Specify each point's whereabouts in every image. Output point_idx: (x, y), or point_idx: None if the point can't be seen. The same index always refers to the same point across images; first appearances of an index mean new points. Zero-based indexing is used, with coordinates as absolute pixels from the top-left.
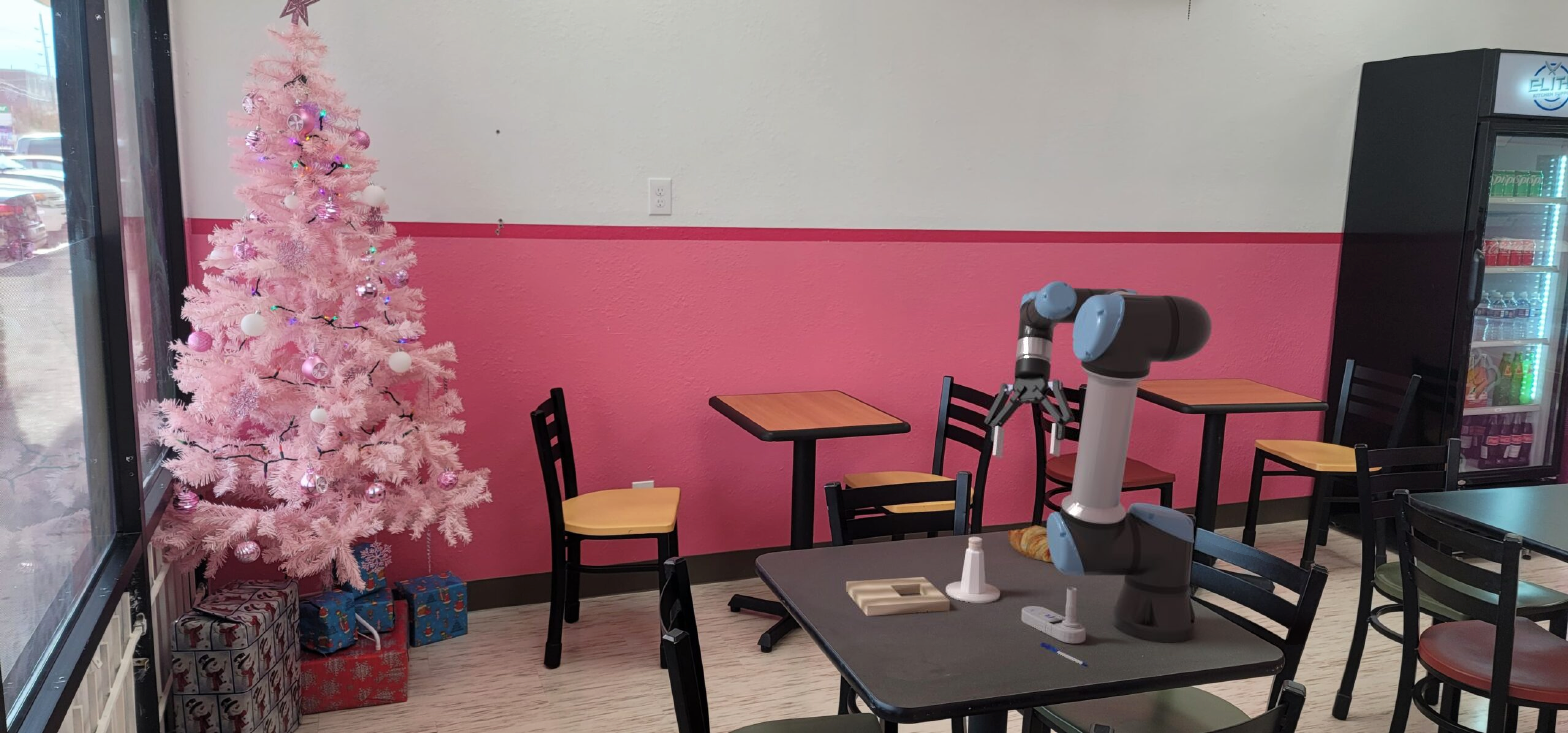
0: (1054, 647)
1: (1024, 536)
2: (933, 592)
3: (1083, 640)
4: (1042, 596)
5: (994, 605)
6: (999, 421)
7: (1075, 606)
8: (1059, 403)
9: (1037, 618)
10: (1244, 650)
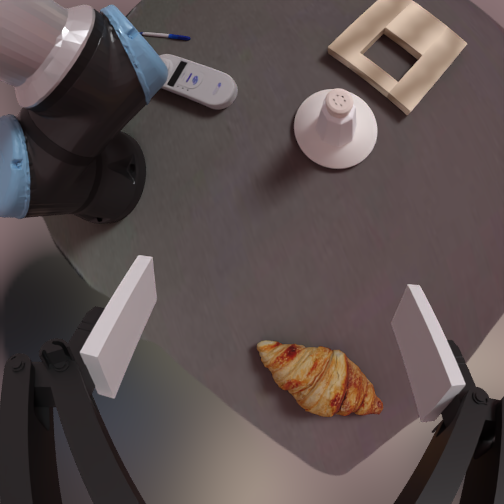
0: (172, 35)
1: (341, 368)
2: (363, 60)
3: None
4: (247, 186)
5: (288, 106)
6: (456, 417)
7: None
8: (21, 449)
9: (203, 65)
10: None
